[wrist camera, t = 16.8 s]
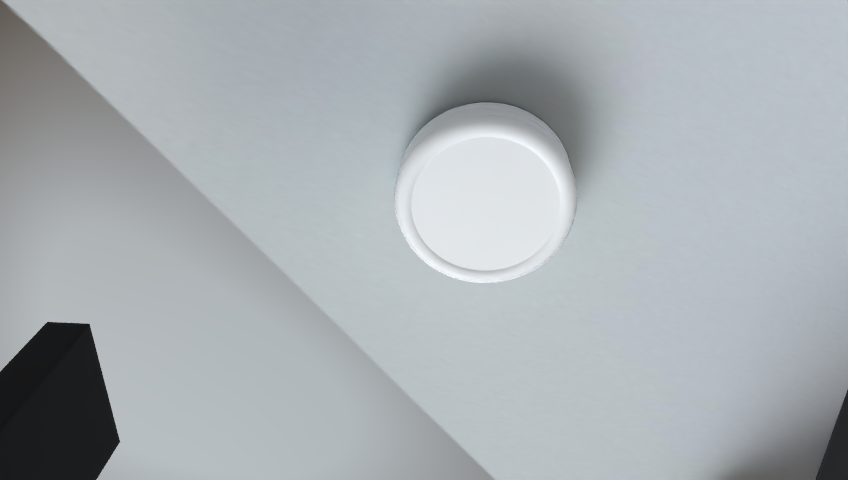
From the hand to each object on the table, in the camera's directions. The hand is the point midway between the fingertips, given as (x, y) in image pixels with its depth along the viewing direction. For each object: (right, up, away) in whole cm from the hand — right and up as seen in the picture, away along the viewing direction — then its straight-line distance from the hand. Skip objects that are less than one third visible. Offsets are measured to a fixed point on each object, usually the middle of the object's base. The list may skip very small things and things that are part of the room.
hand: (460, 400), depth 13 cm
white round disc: (+3, +6, +29) cm, 30 cm away
